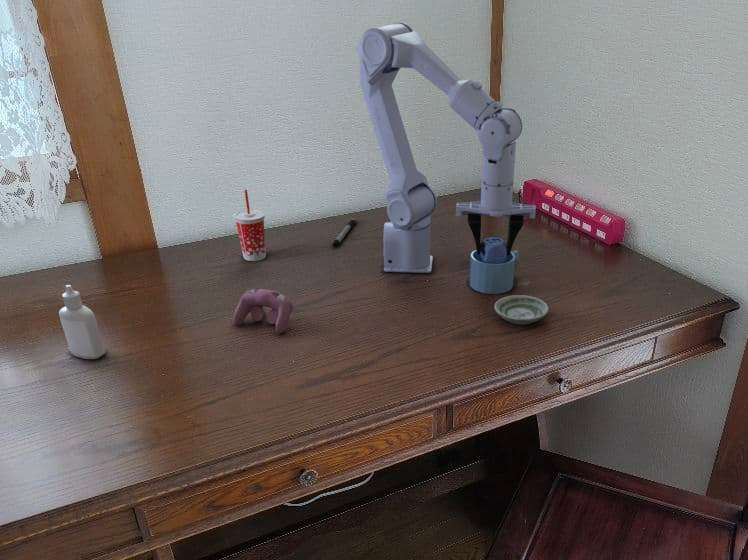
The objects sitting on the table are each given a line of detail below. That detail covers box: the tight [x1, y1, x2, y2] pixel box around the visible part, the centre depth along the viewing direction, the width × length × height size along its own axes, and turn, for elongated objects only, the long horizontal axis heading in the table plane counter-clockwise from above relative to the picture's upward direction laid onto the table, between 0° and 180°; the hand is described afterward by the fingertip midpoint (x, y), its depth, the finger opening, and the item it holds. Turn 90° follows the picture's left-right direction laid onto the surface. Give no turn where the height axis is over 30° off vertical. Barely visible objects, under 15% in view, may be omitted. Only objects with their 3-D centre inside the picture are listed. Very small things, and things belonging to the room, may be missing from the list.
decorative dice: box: [481, 236, 507, 264], centre depth 139 cm, size 4×4×4 cm
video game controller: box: [232, 288, 294, 335], centre depth 127 cm, size 10×5×7 cm, turn 71°
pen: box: [332, 217, 357, 248], centre depth 163 cm, size 1×16×1 cm, turn 170°
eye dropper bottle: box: [58, 284, 106, 360], centre depth 115 cm, size 4×6×12 cm
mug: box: [469, 249, 520, 295], centre depth 142 cm, size 11×8×6 cm
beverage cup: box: [233, 189, 267, 262], centre depth 148 cm, size 6×6×14 cm
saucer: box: [493, 294, 550, 326], centre depth 131 cm, size 10×10×2 cm
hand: (493, 252), depth 139 cm, fingers closed on decorative dice, 5 cm apart
